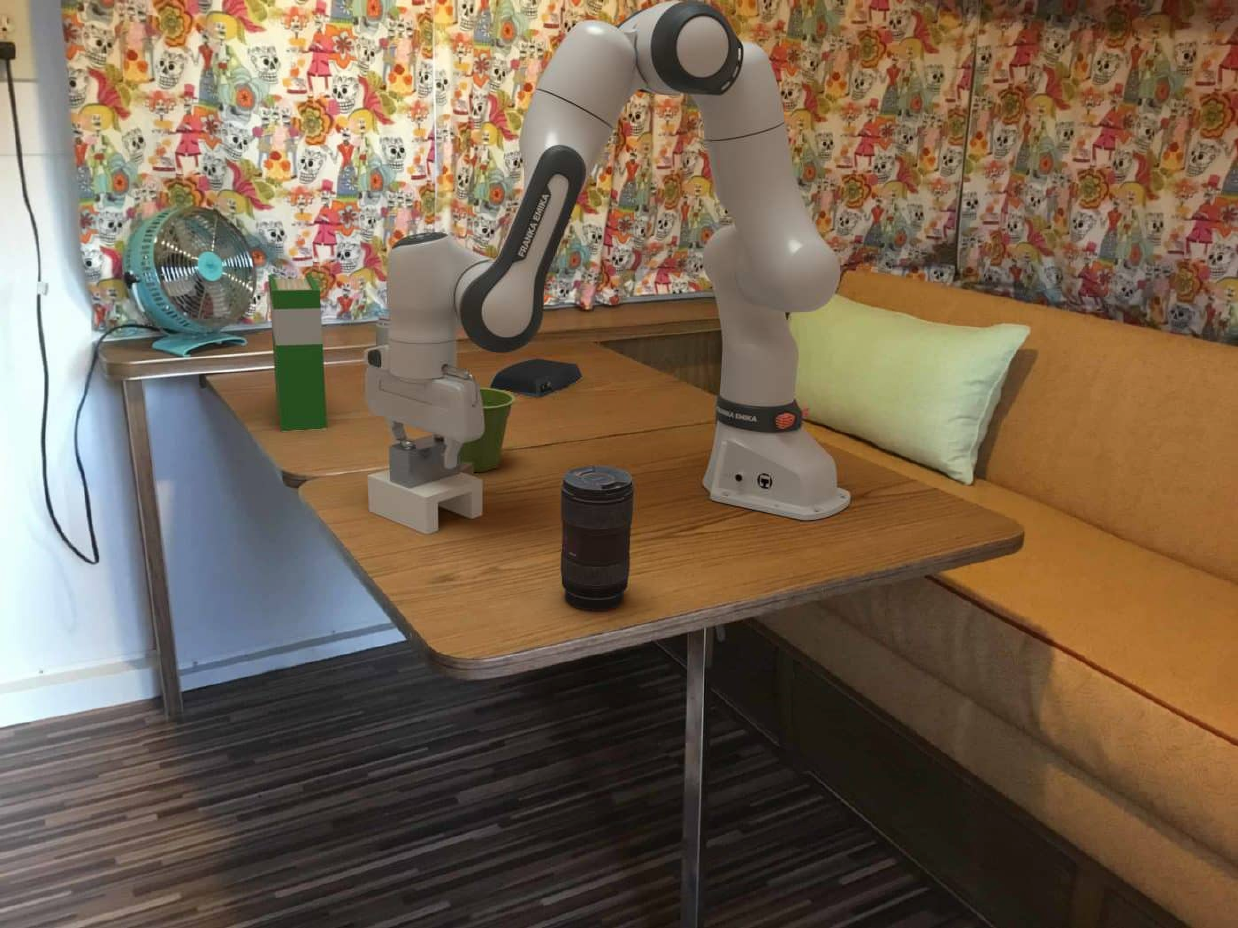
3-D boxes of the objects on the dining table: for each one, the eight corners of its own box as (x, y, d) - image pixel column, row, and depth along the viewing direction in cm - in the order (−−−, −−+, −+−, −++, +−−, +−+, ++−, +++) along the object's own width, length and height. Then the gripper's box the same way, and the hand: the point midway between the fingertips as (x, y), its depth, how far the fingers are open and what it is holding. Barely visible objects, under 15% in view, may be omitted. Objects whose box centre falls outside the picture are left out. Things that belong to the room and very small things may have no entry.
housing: (409, 488, 135) (408, 447, 133) (390, 481, 138) (388, 440, 136) (460, 473, 142) (460, 433, 140) (441, 466, 144) (440, 427, 142)
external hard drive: (484, 392, 207) (484, 372, 205) (532, 373, 223) (533, 354, 222) (541, 401, 201) (541, 381, 200) (586, 381, 218) (586, 362, 217)
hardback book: (276, 405, 189) (268, 274, 182) (318, 403, 192) (311, 274, 184) (281, 432, 174) (272, 291, 166) (327, 429, 176) (319, 290, 169)
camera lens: (544, 596, 118) (546, 474, 113) (595, 577, 124) (599, 459, 119) (591, 621, 113) (596, 493, 108) (643, 600, 118) (649, 478, 114)
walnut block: (473, 488, 152) (473, 463, 150) (460, 497, 148) (460, 471, 147) (449, 484, 153) (449, 459, 151) (436, 493, 149) (435, 467, 148)
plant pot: (458, 482, 153) (457, 410, 150) (426, 460, 163) (425, 391, 159) (528, 471, 160) (528, 401, 156) (493, 450, 169) (493, 384, 166)
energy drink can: (382, 387, 204) (379, 313, 200) (412, 389, 204) (410, 314, 199) (374, 395, 199) (371, 318, 194) (405, 396, 198) (403, 320, 194)
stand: (482, 514, 141) (482, 479, 140) (426, 534, 134) (425, 497, 132) (424, 493, 149) (424, 459, 147) (368, 511, 141) (367, 475, 139)
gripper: (495, 369, 131) (495, 471, 135) (392, 343, 143) (395, 438, 147) (458, 377, 126) (459, 482, 130) (355, 349, 138) (359, 447, 142)
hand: (424, 458), depth 139 cm, fingers open, 8 cm apart
